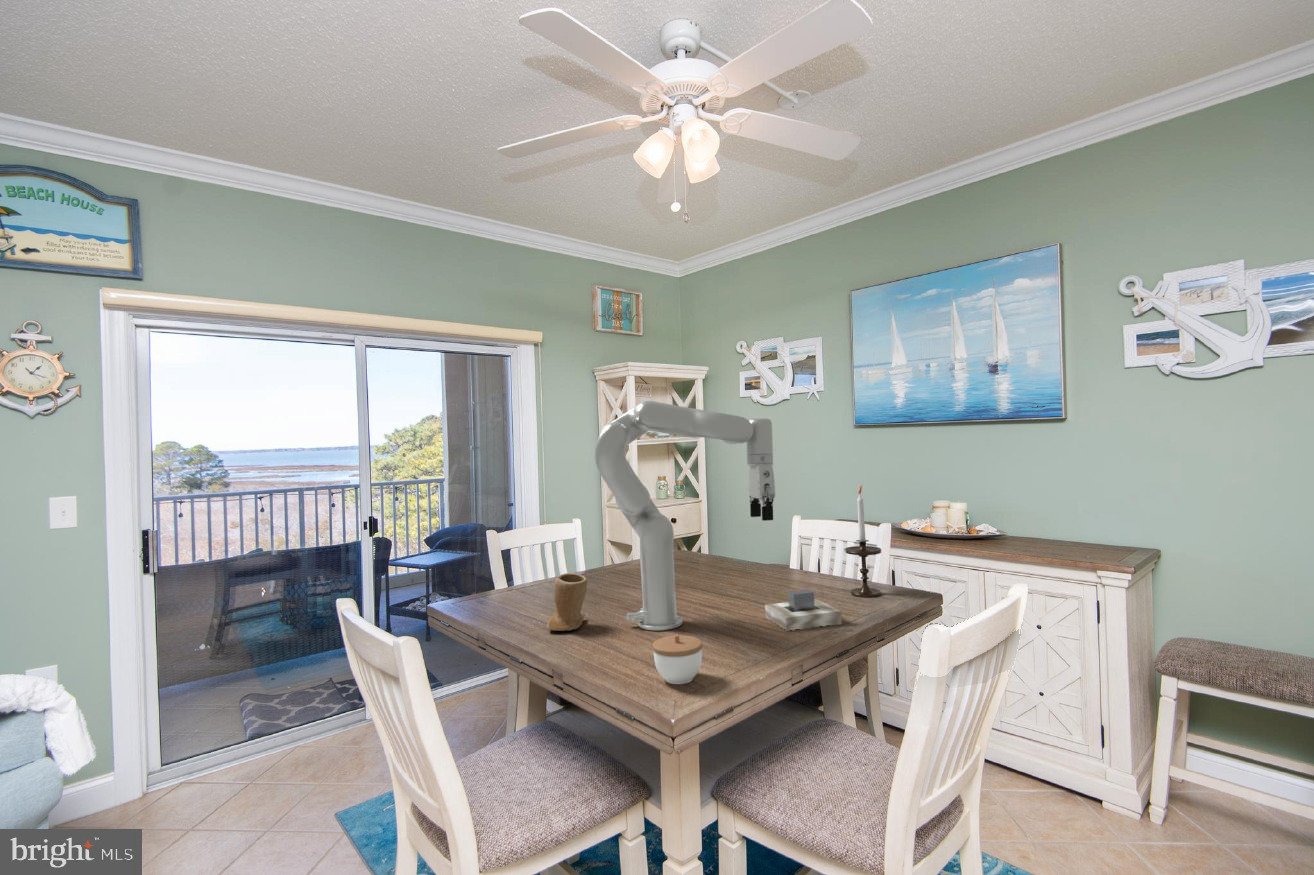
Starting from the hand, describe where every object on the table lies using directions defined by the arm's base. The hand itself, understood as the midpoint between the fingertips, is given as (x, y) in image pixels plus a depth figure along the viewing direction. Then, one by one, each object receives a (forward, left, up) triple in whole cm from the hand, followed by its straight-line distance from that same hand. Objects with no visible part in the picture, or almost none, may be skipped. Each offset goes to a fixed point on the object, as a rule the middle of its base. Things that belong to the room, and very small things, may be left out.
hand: (761, 518), depth 173 cm
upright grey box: (+6, -10, -28) cm, 30 cm away
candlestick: (+37, +8, -28) cm, 47 cm away
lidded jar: (-37, -38, -28) cm, 60 cm away
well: (+6, -10, -28) cm, 30 cm away
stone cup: (-57, +11, -28) cm, 64 cm away
